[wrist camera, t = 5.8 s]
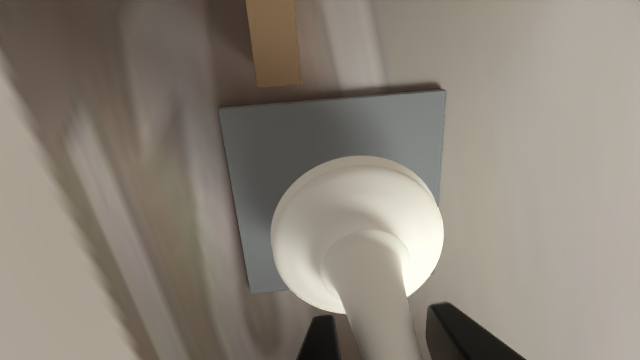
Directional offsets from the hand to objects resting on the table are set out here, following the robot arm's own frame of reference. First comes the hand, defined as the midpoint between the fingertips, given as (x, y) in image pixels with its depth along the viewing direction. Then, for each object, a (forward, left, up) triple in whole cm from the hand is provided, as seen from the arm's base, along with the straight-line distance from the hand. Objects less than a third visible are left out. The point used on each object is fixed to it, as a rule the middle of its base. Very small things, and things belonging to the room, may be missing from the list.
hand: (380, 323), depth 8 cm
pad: (0, 0, -6) cm, 6 cm away
